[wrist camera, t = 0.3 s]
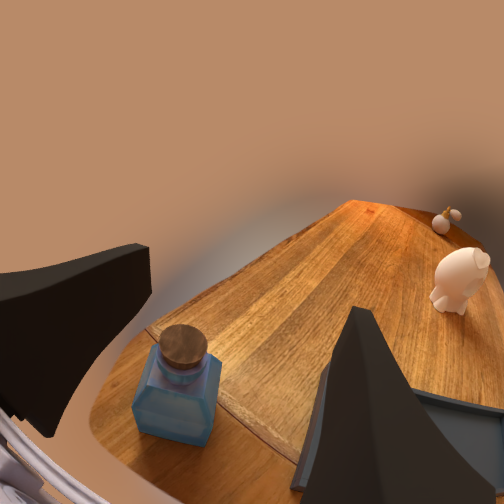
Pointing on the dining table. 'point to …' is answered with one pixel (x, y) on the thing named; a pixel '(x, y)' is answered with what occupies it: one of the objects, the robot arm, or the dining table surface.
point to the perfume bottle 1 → (178, 387)
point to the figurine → (459, 279)
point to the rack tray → (449, 423)
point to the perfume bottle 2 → (444, 221)
